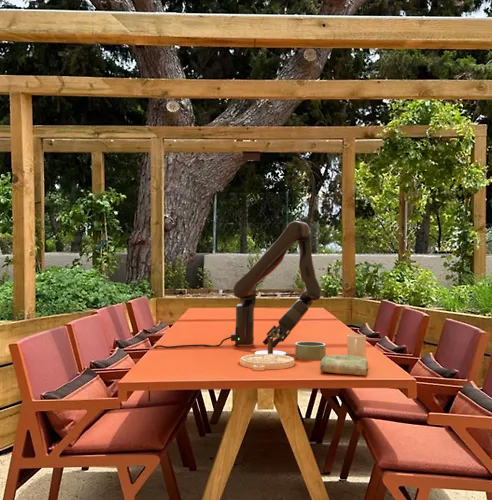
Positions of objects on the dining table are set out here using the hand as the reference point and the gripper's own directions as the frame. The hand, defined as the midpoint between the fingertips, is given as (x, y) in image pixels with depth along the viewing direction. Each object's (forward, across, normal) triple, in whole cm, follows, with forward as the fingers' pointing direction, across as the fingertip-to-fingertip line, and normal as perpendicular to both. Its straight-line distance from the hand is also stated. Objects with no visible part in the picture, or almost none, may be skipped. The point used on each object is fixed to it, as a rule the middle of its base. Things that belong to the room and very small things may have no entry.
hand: (268, 345), depth 278 cm
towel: (-7, +43, +14) cm, 45 cm away
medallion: (+11, +20, -4) cm, 23 cm away
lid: (+2, 0, +4) cm, 4 cm away
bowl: (-7, +13, +14) cm, 20 cm away
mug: (-16, +31, +23) cm, 42 cm away
